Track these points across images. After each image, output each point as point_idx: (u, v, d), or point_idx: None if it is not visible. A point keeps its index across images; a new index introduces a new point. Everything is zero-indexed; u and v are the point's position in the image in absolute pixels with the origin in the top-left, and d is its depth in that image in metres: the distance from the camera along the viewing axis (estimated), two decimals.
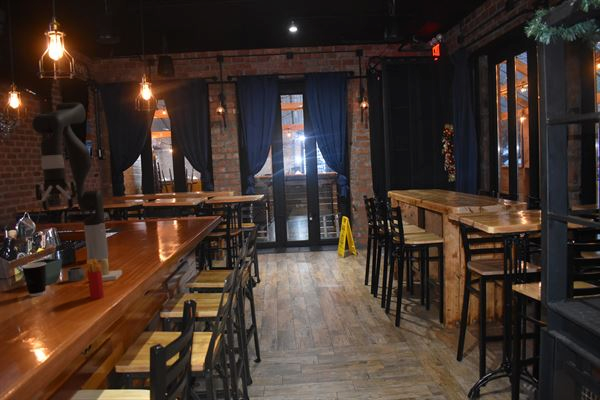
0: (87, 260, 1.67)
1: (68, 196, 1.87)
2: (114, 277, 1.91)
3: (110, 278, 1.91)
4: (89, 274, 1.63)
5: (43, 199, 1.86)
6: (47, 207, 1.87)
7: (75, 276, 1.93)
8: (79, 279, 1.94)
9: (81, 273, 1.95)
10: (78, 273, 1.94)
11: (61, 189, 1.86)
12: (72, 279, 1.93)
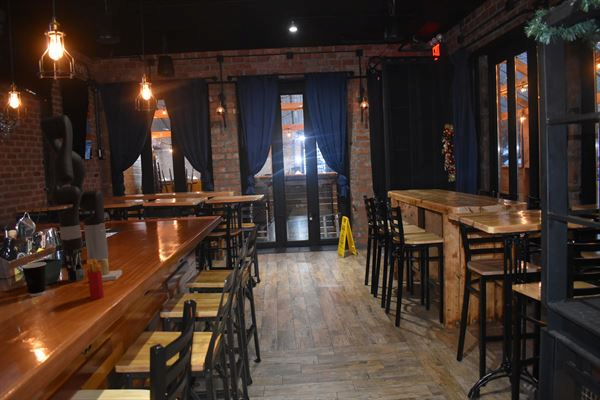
0: (87, 260, 1.67)
1: (80, 264, 1.99)
2: (114, 277, 1.91)
3: (110, 278, 1.91)
4: (89, 274, 1.63)
5: (75, 269, 1.92)
6: None
7: None
8: (79, 279, 1.94)
9: (81, 273, 1.95)
10: (78, 273, 1.94)
11: (79, 257, 1.97)
12: None
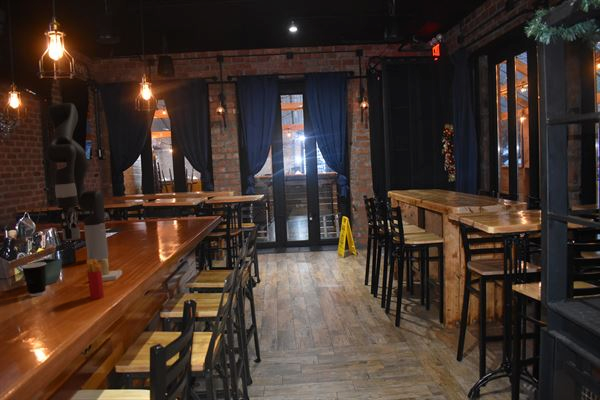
0: (87, 260, 1.67)
1: (76, 223, 1.97)
2: (114, 277, 1.91)
3: (110, 278, 1.91)
4: (89, 274, 1.63)
5: (70, 227, 1.90)
6: None
7: None
8: (74, 238, 1.92)
9: (76, 232, 1.93)
10: (73, 232, 1.92)
11: (75, 216, 1.96)
12: None
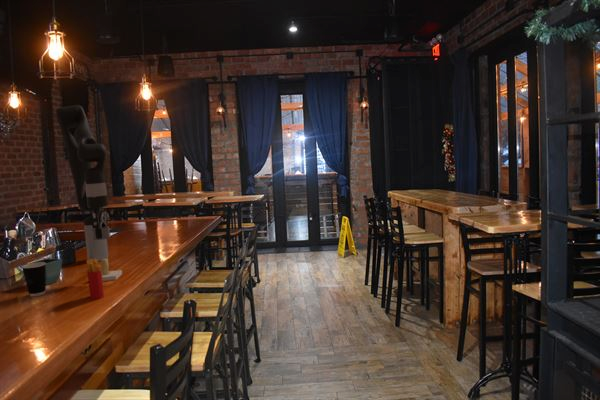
0: (87, 260, 1.67)
1: (105, 223, 1.97)
2: (114, 277, 1.91)
3: (110, 278, 1.91)
4: (89, 274, 1.63)
5: (101, 227, 1.90)
6: None
7: None
8: (105, 237, 1.92)
9: (107, 231, 1.93)
10: (104, 231, 1.92)
11: (105, 215, 1.95)
12: None
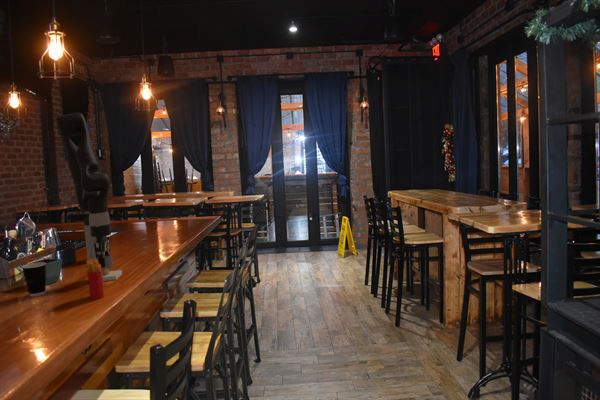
0: (87, 260, 1.67)
1: (108, 251, 1.98)
2: (114, 277, 1.91)
3: (110, 278, 1.91)
4: (89, 274, 1.63)
5: (104, 256, 1.91)
6: None
7: None
8: (108, 266, 1.93)
9: (110, 260, 1.94)
10: (107, 260, 1.93)
11: (108, 244, 1.96)
12: None
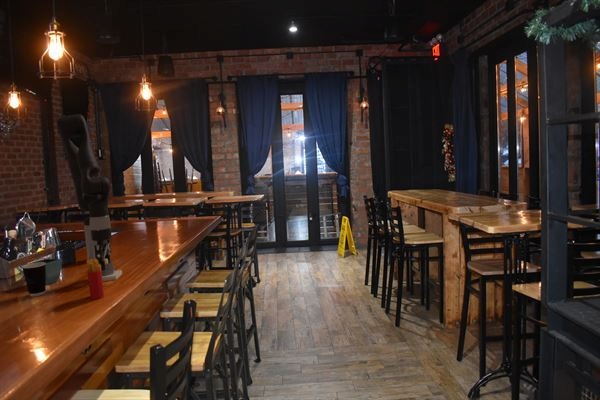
0: (87, 260, 1.67)
1: (109, 253, 1.99)
2: (114, 277, 1.91)
3: (110, 278, 1.91)
4: (89, 274, 1.63)
5: (104, 258, 1.90)
6: None
7: (105, 271, 1.92)
8: (109, 273, 1.93)
9: (111, 267, 1.94)
10: (108, 267, 1.93)
11: (108, 247, 1.97)
12: (102, 273, 1.92)
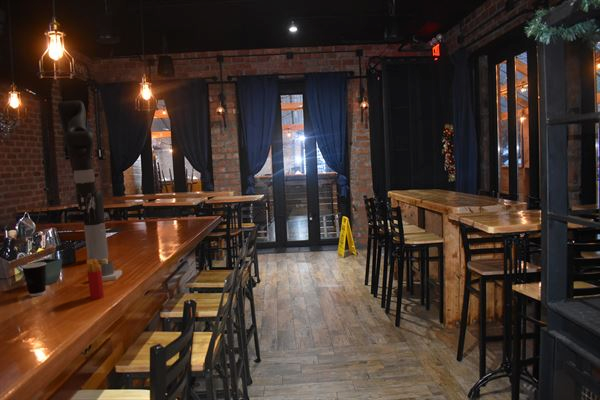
0: (87, 260, 1.67)
1: (94, 207, 2.03)
2: (114, 277, 1.91)
3: (110, 278, 1.91)
4: (89, 274, 1.63)
5: (88, 211, 1.95)
6: None
7: (105, 271, 1.92)
8: (109, 273, 1.93)
9: (111, 267, 1.94)
10: (108, 267, 1.93)
11: (93, 200, 2.01)
12: (102, 273, 1.92)
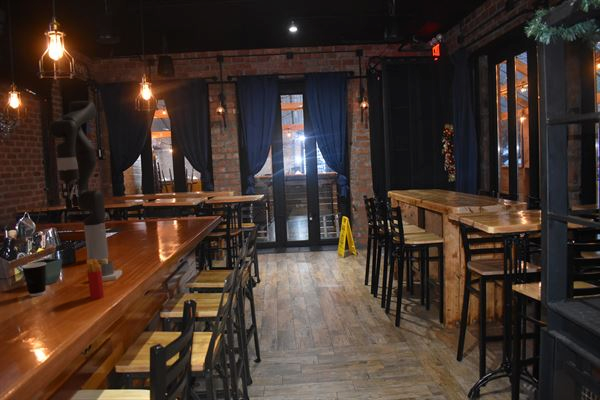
0: (87, 260, 1.67)
1: (77, 194, 2.09)
2: (114, 277, 1.91)
3: (110, 278, 1.91)
4: (89, 274, 1.63)
5: (70, 197, 2.00)
6: None
7: (105, 271, 1.92)
8: (109, 273, 1.93)
9: (111, 267, 1.94)
10: (108, 267, 1.93)
11: (76, 188, 2.07)
12: (102, 273, 1.92)
